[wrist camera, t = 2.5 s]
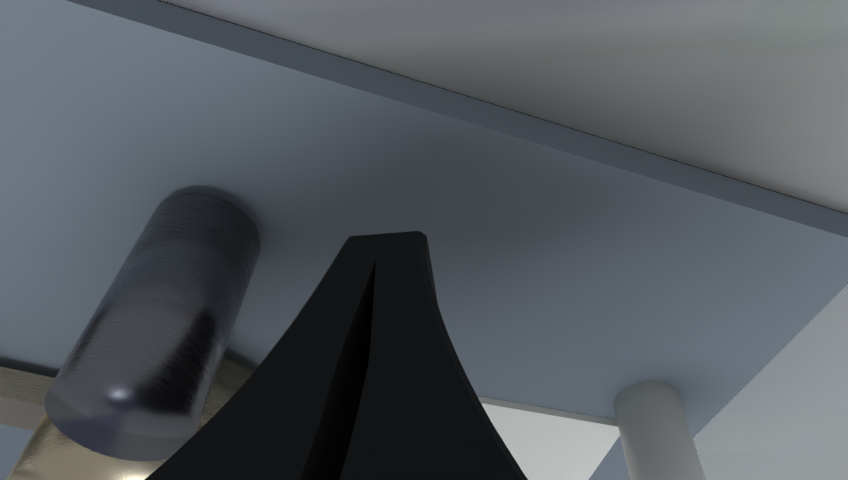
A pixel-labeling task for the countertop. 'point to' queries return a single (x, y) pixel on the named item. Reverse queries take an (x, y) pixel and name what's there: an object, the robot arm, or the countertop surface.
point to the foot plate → (386, 211)
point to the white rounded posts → (601, 436)
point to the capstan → (143, 352)
